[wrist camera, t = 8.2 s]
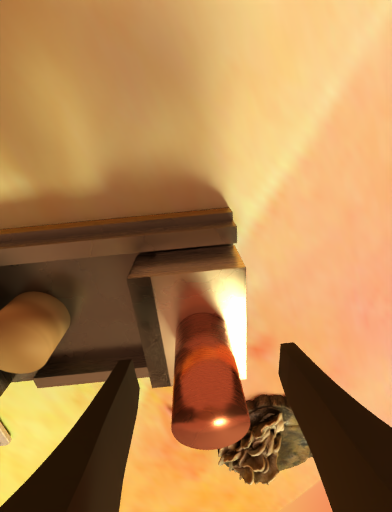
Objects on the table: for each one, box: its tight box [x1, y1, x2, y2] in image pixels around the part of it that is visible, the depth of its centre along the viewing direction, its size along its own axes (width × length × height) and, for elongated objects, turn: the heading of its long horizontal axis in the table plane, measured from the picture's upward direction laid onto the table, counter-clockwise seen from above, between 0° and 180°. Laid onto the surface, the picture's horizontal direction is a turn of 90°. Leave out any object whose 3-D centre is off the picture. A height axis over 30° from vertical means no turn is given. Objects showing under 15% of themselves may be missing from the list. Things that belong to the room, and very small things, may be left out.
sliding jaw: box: [127, 245, 250, 450], centre depth 13 cm, size 6×8×8 cm
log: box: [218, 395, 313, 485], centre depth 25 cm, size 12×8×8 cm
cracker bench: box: [0, 207, 237, 396], centre depth 15 cm, size 20×12×6 cm, turn 95°
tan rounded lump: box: [0, 291, 71, 374], centre depth 15 cm, size 4×4×3 cm
